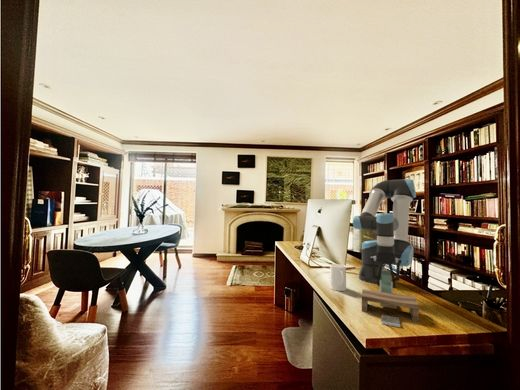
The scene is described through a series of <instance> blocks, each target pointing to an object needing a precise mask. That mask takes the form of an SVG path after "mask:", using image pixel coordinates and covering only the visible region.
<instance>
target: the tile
mask: <svg viewBox="0 0 520 390" xmlns="http://www.w3.org/2000/svg"><path fill="white" fill-rule="evenodd" d="M380 319H381V325H385V326H389V327H394V328H395V327H396V328H401V321H400V317H396V316H392V315H391V316H390V315H387V314H380Z"/></svg>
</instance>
